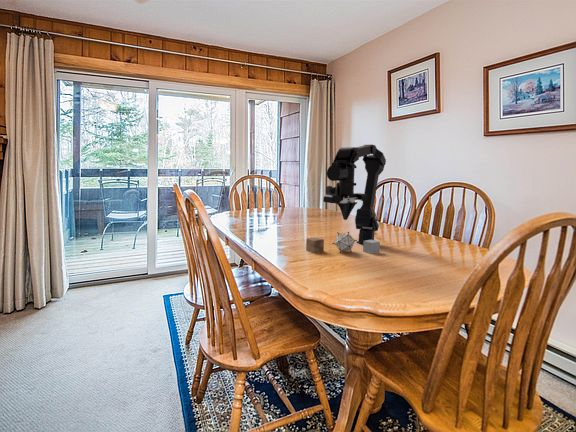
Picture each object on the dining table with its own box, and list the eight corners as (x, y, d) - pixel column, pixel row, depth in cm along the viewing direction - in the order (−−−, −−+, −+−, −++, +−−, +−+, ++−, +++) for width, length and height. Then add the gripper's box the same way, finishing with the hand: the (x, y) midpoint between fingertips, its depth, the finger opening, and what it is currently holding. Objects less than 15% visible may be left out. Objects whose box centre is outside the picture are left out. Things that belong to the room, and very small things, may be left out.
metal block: (315, 248, 146) (316, 237, 145) (323, 251, 142) (323, 239, 141) (306, 250, 143) (306, 238, 143) (313, 253, 139) (314, 240, 139)
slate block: (370, 250, 145) (371, 239, 144) (379, 252, 141) (379, 241, 140) (363, 251, 142) (363, 240, 142) (371, 254, 139) (371, 242, 138)
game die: (347, 261, 141) (356, 245, 134) (328, 253, 142) (335, 236, 135) (352, 246, 147) (361, 230, 140) (333, 238, 148) (341, 222, 141)
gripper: (349, 178, 149) (348, 215, 151) (314, 179, 139) (314, 218, 141) (369, 180, 140) (367, 219, 142) (333, 181, 130) (332, 222, 132)
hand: (345, 219), depth 140 cm, fingers closed
